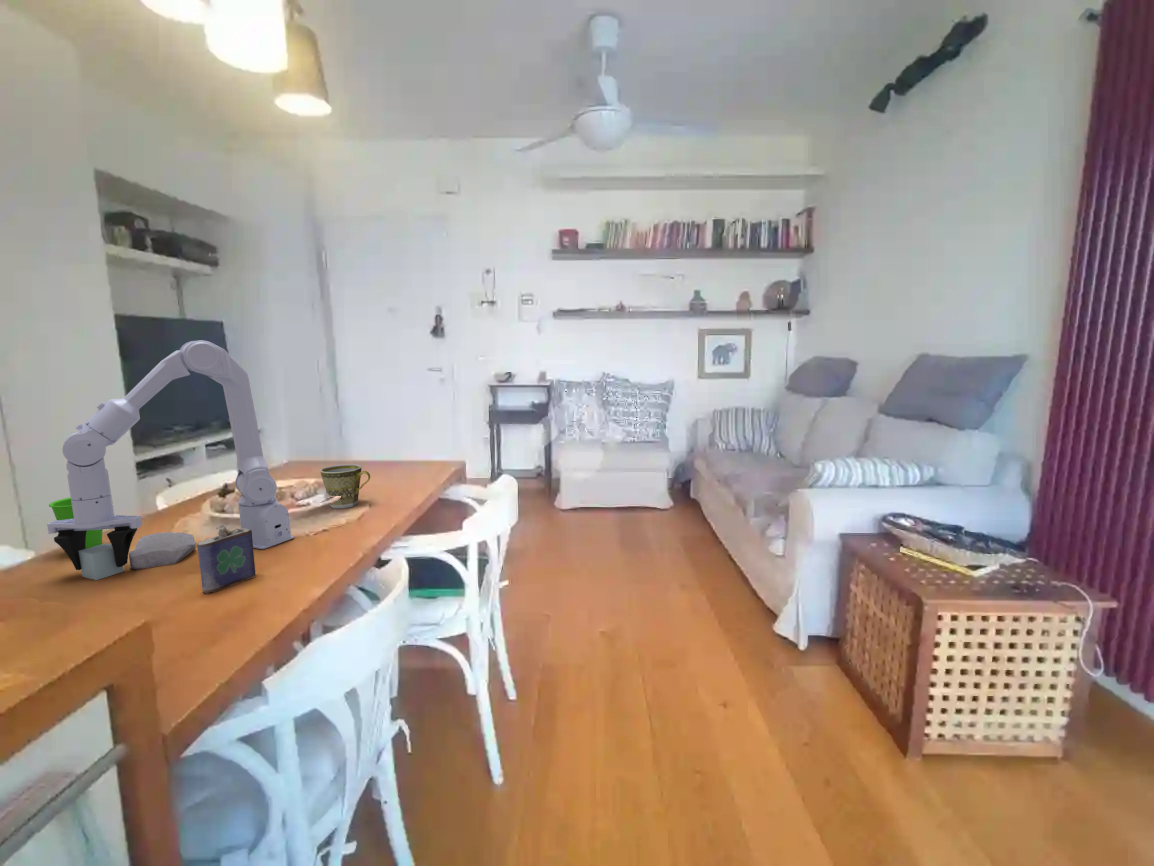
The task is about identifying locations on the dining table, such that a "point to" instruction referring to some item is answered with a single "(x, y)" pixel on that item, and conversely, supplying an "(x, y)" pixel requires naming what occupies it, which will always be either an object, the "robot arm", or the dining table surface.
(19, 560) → the dining table surface
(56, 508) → the cup
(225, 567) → the flask
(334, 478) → the ceramic cup
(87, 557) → the cube
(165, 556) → the stone block
